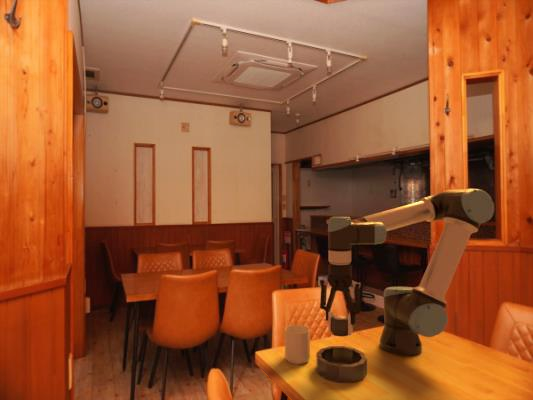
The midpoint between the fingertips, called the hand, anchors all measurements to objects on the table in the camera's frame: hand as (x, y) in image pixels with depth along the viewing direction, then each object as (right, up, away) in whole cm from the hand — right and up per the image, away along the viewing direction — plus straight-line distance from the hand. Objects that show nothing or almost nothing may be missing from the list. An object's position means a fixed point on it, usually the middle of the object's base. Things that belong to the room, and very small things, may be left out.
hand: (340, 332), depth 121 cm
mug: (-13, -13, +10) cm, 21 cm away
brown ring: (0, -13, 0) cm, 13 cm away
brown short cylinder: (0, 0, 0) cm, 0 cm away
